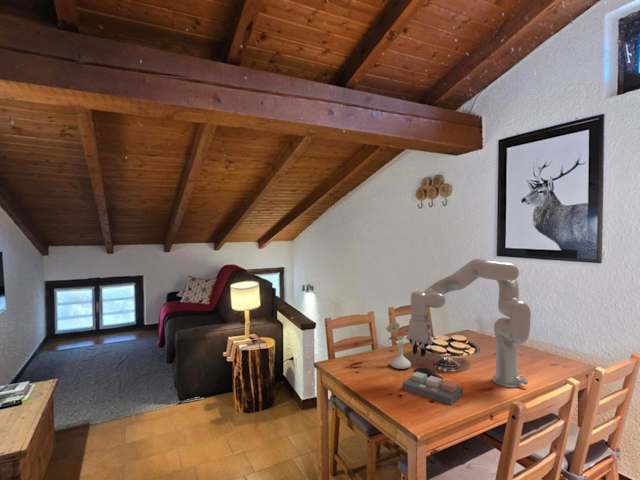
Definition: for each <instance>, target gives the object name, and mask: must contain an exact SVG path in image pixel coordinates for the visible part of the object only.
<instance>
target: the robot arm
mask: <svg viewBox="0 0 640 480" xmlns="http://www.w3.org/2000/svg"><path fill="white" fill-rule="evenodd" d="M519 274H520V271H519V268H518V267H517V266H516V264H514V263H510V262H504V261H492V260H487V259H481V258H474V259H471V260H470V261H469V262H467V263H465V265H463V266H462V267H461V268H459V269H457V271H455V272H453V273H452V274H451V275H449V276H446V277H444V278H442V279H439V280H438V281H436V282H434V283H433V284H432V285H429V287H427V288H426V289H425V290H424V291H412V292H411V294H410V319H409V321H408V330H407V331H408V332H407V335H406V336H405V338H406V340H407V341H409V342H410V344H411V346H412V353H413V355H416V354H418V351H419V350H418V345H417V342H420V343H421V348H420V357H424V356H426V354H427V353H426V352H427V351H426V350H427V348H428V347H429V346H431V345H433V344H434V343H433V340H432V331H431V326H430V325H431V324H430V321H429V320H430V318H431V317H430V316H428V308H431V309H432V308H433V309H440V308H442V307H443V306H445V304H446V298H445V296H444V295H445V294H447V293H450V292H454V291H461V290H464V289H466V288H467V287H469V286H470V285H471V284H473V283H474V282H476V280H478V279H480V278H481V279H482V278H483V279H486V280H493V281H496V282H497V283H498V302H497V303H498V305H497V308H498V312H500V314H501V315H503V316H505V317H501V318H498V319H497V320H495V322H494V324H493V331H494V332H493V333H494V336H495V375H493V376H492V379H491V380H492V382H493V383H495V384H496V385H499V386H501V387H505V388H515V389H516V388H519V387H521V385H522V384H523V385H526V386H527V385H528V384H529V380H527V379H526V378H523V377H521V376H520V373H518V370H519V369H518V368H519V367H518V366H519V363H518V360H519V358H518V357H519V349H518V345H523V344H524V343H526V342H527V341H528V339H529V338H530V333H531V331H530V330H531V317H532V316H531V313H532V312H531V308H530V306H529V305H528V303H526V302H525V301H524V300H521V299H520V295H519V294H520V291H519V290H520V288H519V282H518V280H517V278H518V277H519Z"/></svg>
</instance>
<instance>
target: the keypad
mask: <svg viewBox="0 0 640 480" xmlns="http://www.w3.org/2000/svg"><path fill="white" fill-rule="evenodd" d="M427 378H429V377H427ZM443 382H444V381H443V380H442V383H443ZM463 387H464V386H463ZM463 387H462V386H460V385H458V390H457V391H456V392H455V393H452V392H449V391H446V390H443V389H442V385H441V386H439V387H438V388H436V387H433V386H430V385H427V384H426V381H425V382H423V383H420V382H417V381H414V380H412V376H410V377H409V378H408V379H406V380H405V381H404V382H402V390H404V391H407V392H410V393H413V394H416V395H418V396H419V395H420V396H422V397H425V398H428V399H430V400H434V401H437V402H440V403H443V404H445V405H449V406H452V405H453V404H454V403H455V402H456V401H457V400H458V399H459V398H460V397H461V396H462V395H464V388H463Z"/></svg>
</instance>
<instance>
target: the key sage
mask: <svg viewBox="0 0 640 480" xmlns="http://www.w3.org/2000/svg"><path fill="white" fill-rule="evenodd" d="M411 377H412V380H414V381H417V382H420V383H423V382H425V381H426V379H427V374H423V373H420V372H415V371H414V373H412V374H411Z"/></svg>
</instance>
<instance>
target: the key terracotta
mask: <svg viewBox="0 0 640 480" xmlns="http://www.w3.org/2000/svg"><path fill="white" fill-rule="evenodd" d="M458 386H459V383H458V382H455V381H450V380H448V379H447V380H445V381H443V383H442V389H443V390H446V391H449V392H452V393H455V392H456V391H457V390H458Z"/></svg>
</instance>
